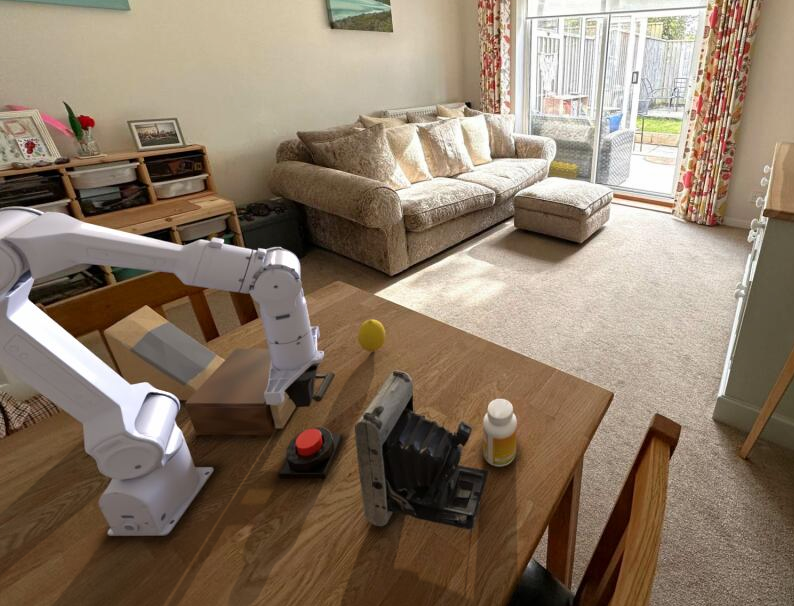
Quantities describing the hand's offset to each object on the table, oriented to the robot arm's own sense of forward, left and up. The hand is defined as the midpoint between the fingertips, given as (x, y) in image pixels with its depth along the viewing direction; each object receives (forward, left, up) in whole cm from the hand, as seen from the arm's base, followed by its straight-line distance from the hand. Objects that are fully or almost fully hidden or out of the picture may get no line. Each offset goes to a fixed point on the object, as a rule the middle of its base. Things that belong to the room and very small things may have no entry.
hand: (304, 403), depth 63 cm
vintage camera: (-9, -21, -10) cm, 25 cm away
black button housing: (-2, -1, -9) cm, 10 cm away
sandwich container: (+14, +30, -10) cm, 35 cm away
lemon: (+24, -3, -10) cm, 26 cm away
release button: (-2, -1, -7) cm, 7 cm away
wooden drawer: (+9, +9, -9) cm, 15 cm away
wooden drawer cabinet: (+9, +14, -9) cm, 19 cm away
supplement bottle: (-1, -31, -10) cm, 32 cm away
